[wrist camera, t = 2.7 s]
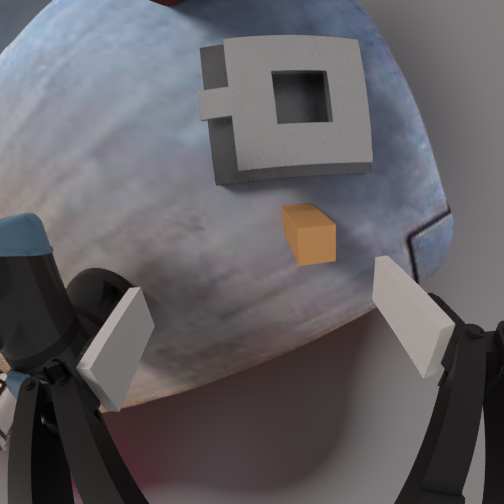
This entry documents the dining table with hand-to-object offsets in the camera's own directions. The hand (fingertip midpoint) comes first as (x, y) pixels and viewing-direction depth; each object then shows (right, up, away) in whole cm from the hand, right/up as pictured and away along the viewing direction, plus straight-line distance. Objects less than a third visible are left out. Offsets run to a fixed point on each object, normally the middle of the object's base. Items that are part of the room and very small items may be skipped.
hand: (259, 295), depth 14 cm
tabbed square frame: (+4, +20, +16) cm, 26 cm away
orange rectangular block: (+6, +7, +22) cm, 24 cm away
